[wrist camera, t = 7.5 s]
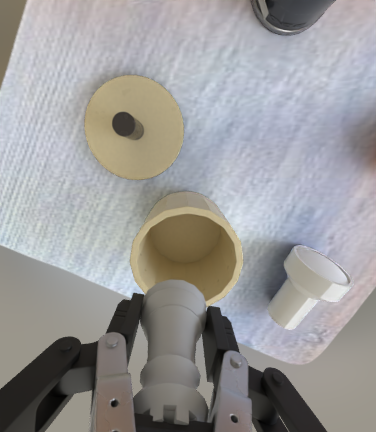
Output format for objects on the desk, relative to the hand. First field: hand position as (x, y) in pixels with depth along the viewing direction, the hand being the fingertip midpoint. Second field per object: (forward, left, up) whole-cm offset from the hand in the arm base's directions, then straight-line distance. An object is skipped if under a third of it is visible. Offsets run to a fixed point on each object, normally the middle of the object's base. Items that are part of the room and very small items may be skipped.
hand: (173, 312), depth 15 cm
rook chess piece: (0, 0, -1) cm, 1 cm away
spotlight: (+4, +19, -19) cm, 27 cm away
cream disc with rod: (-12, -8, -18) cm, 23 cm away
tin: (0, +1, -19) cm, 19 cm away
